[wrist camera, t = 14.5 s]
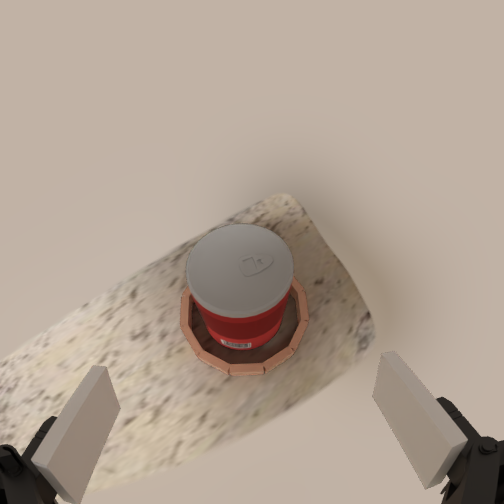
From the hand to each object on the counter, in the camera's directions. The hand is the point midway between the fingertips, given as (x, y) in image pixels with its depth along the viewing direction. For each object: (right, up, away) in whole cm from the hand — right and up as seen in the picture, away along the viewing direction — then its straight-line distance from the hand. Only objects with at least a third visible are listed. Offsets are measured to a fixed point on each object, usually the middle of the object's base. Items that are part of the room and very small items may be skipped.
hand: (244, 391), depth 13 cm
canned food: (-1, -1, +18) cm, 18 cm away
